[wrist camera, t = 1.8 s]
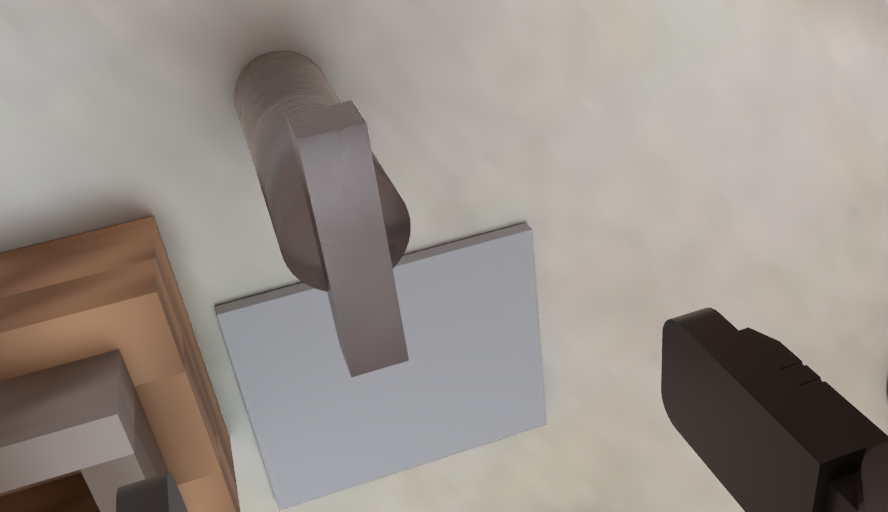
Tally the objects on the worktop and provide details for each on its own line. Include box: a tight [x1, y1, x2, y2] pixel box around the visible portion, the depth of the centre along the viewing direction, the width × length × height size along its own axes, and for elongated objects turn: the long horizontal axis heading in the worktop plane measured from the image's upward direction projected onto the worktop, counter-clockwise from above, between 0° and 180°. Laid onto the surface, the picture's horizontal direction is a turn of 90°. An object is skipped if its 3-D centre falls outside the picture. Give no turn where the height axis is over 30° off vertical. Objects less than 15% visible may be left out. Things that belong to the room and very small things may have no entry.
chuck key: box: [235, 51, 410, 378], centre depth 23 cm, size 3×6×11 cm, turn 7°
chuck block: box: [0, 216, 240, 512], centre depth 26 cm, size 10×10×8 cm
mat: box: [215, 223, 546, 511], centre depth 34 cm, size 12×10×1 cm
